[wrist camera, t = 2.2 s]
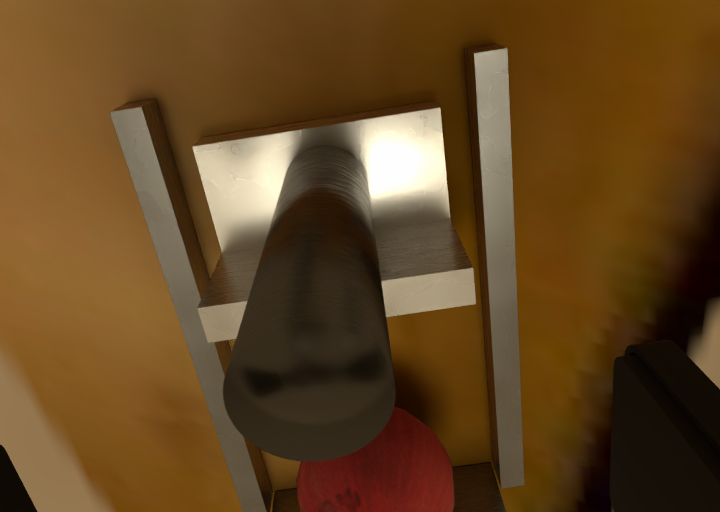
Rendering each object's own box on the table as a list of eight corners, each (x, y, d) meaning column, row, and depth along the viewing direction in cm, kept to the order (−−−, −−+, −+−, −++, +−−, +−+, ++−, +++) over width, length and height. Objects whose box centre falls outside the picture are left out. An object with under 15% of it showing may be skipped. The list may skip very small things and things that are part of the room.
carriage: (200, 137, 20) (23, 328, 9) (434, 100, 19) (555, 249, 8) (236, 268, 22) (129, 552, 11) (447, 236, 21) (556, 496, 10)
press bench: (126, 103, 19) (17, 161, 13) (495, 43, 18) (575, 73, 12) (259, 518, 27) (233, 680, 21) (515, 485, 27) (569, 639, 20)
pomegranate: (316, 474, 26) (305, 661, 19) (292, 372, 24) (270, 542, 17) (443, 459, 26) (481, 641, 19) (432, 354, 24) (472, 517, 16)
